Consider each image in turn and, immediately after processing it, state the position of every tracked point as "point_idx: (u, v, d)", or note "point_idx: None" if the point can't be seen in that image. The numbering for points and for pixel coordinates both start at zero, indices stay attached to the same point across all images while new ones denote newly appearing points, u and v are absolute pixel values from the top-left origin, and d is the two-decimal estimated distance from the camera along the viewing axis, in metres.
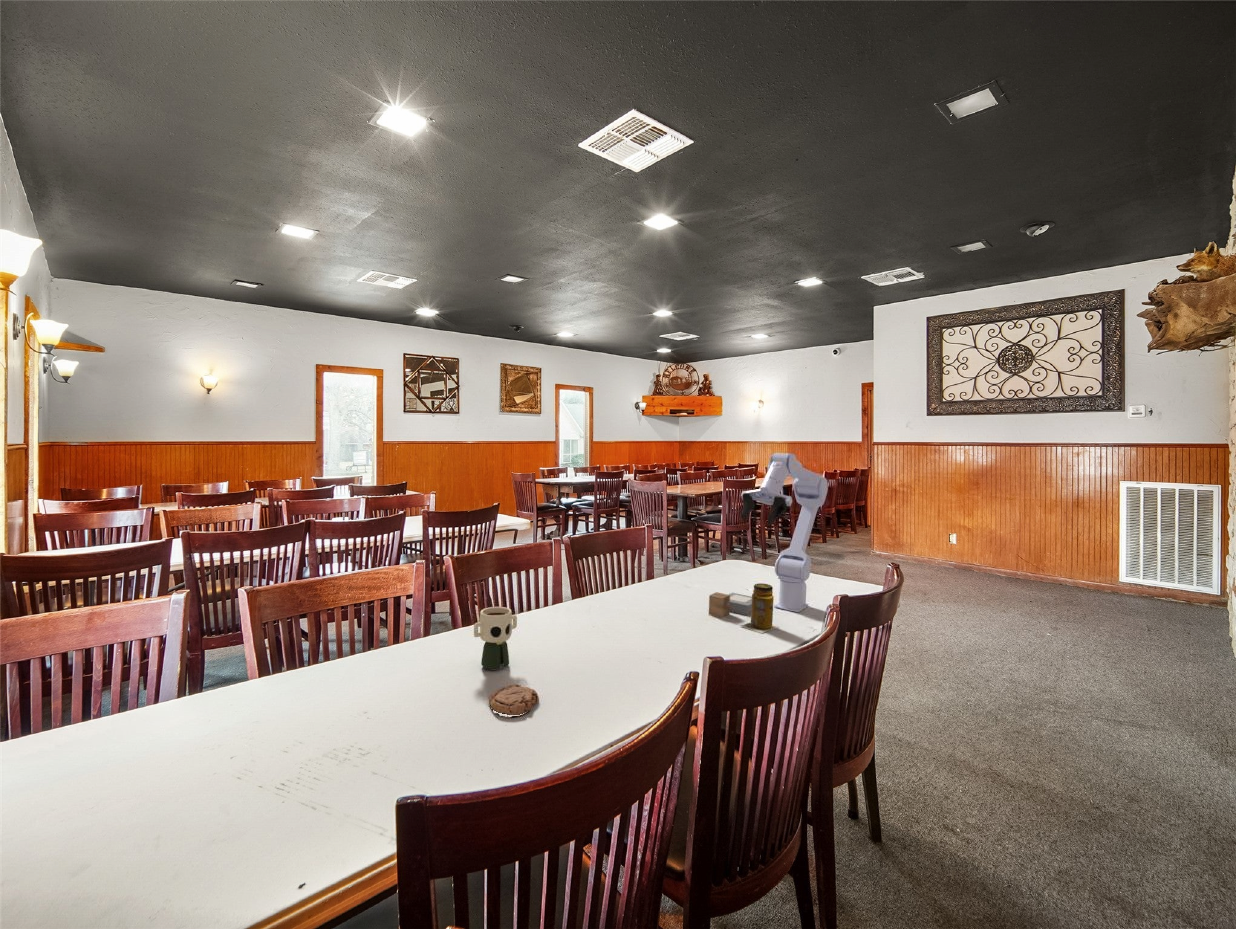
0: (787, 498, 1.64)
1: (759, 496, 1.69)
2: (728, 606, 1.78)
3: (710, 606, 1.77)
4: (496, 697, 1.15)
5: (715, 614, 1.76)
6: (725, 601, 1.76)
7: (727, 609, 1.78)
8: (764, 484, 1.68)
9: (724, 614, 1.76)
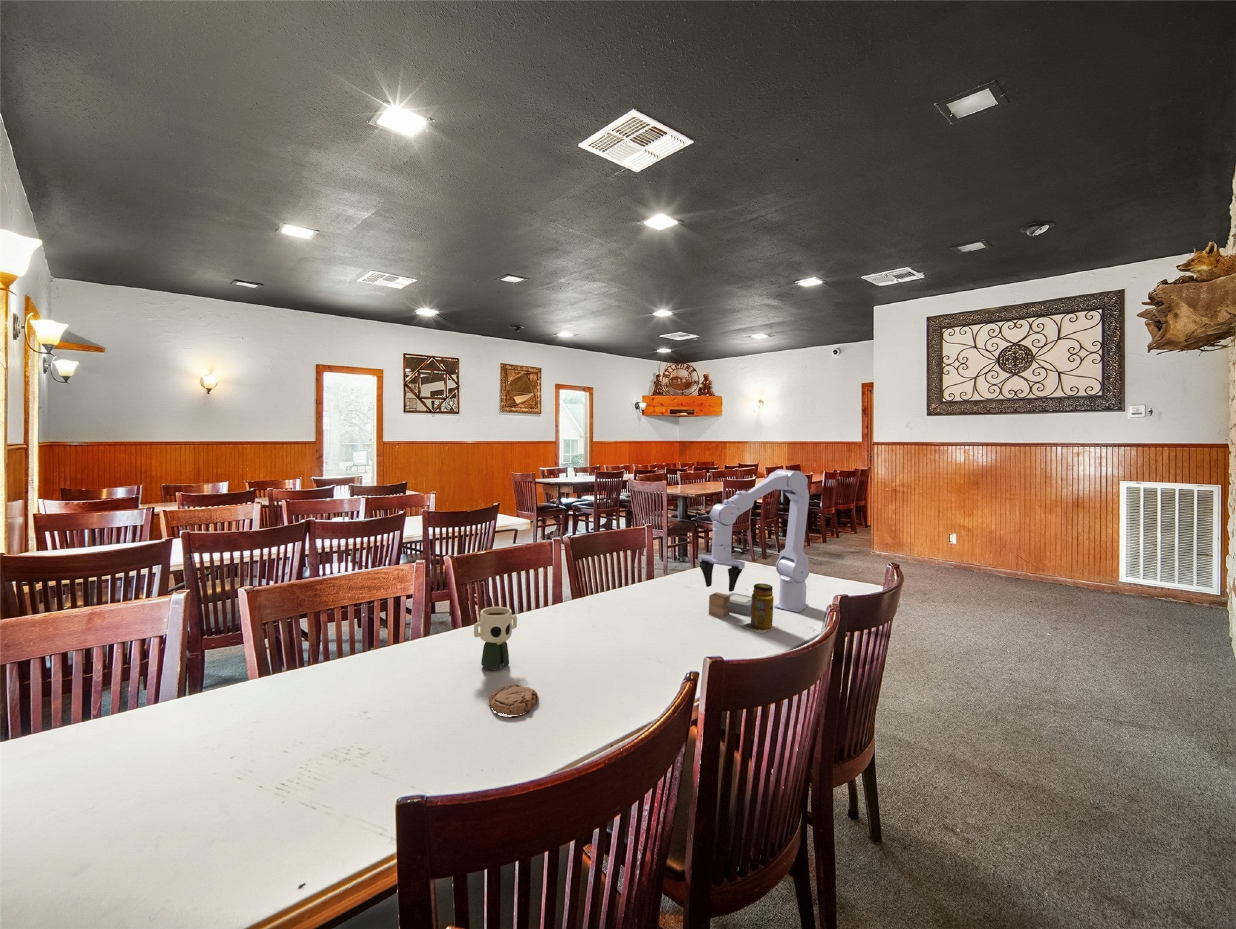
0: (739, 565, 1.73)
1: None
2: (728, 606, 1.78)
3: (710, 606, 1.77)
4: (496, 697, 1.15)
5: (715, 614, 1.76)
6: (725, 601, 1.76)
7: (727, 609, 1.78)
8: (714, 553, 1.76)
9: (724, 614, 1.76)
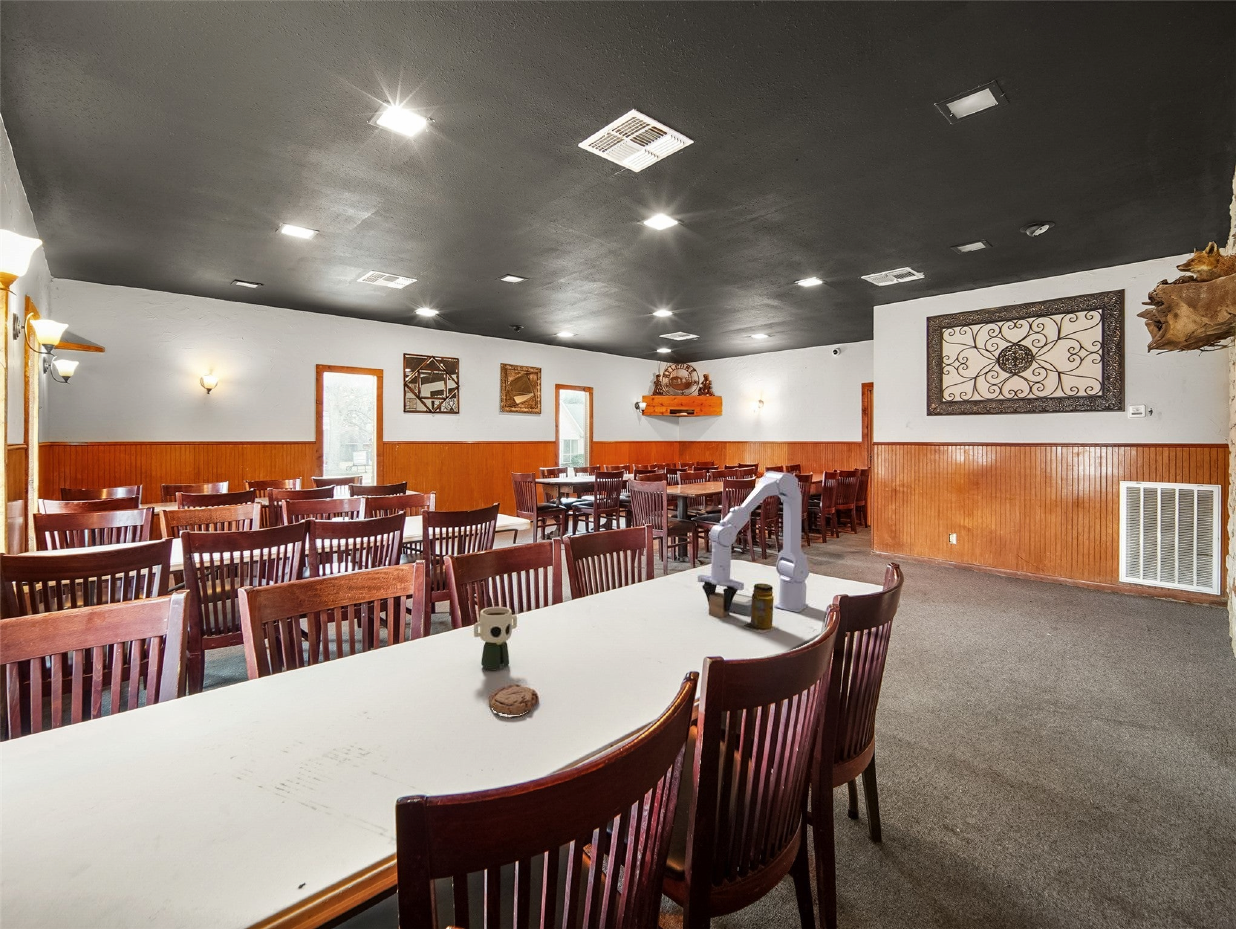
0: (738, 586, 1.73)
1: None
2: None
3: (710, 606, 1.77)
4: (496, 697, 1.15)
5: (715, 614, 1.76)
6: None
7: None
8: (713, 574, 1.76)
9: (724, 614, 1.76)
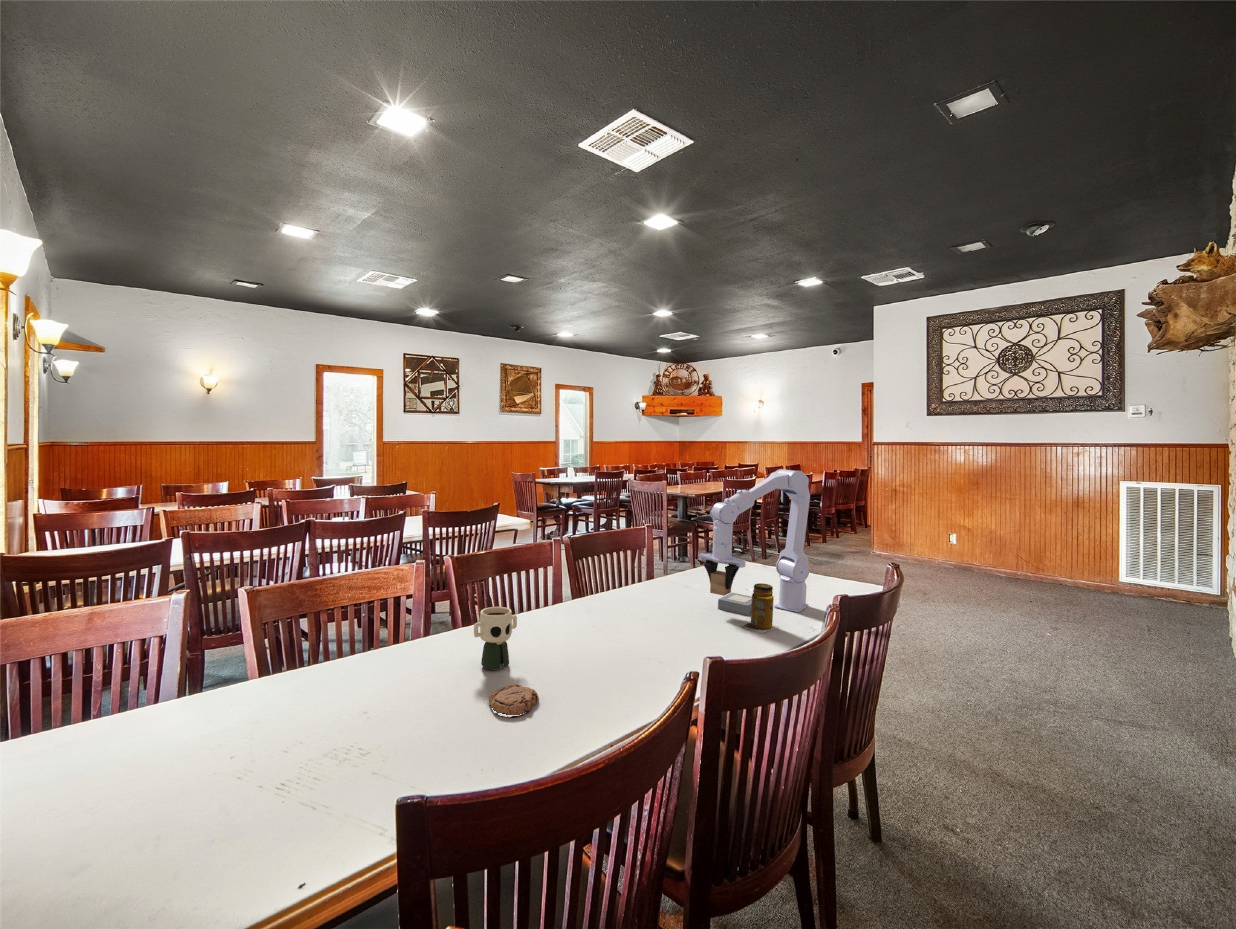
0: (740, 564, 1.73)
1: None
2: None
3: (712, 584, 1.77)
4: (496, 697, 1.15)
5: (717, 592, 1.76)
6: None
7: None
8: (715, 551, 1.76)
9: (726, 592, 1.76)
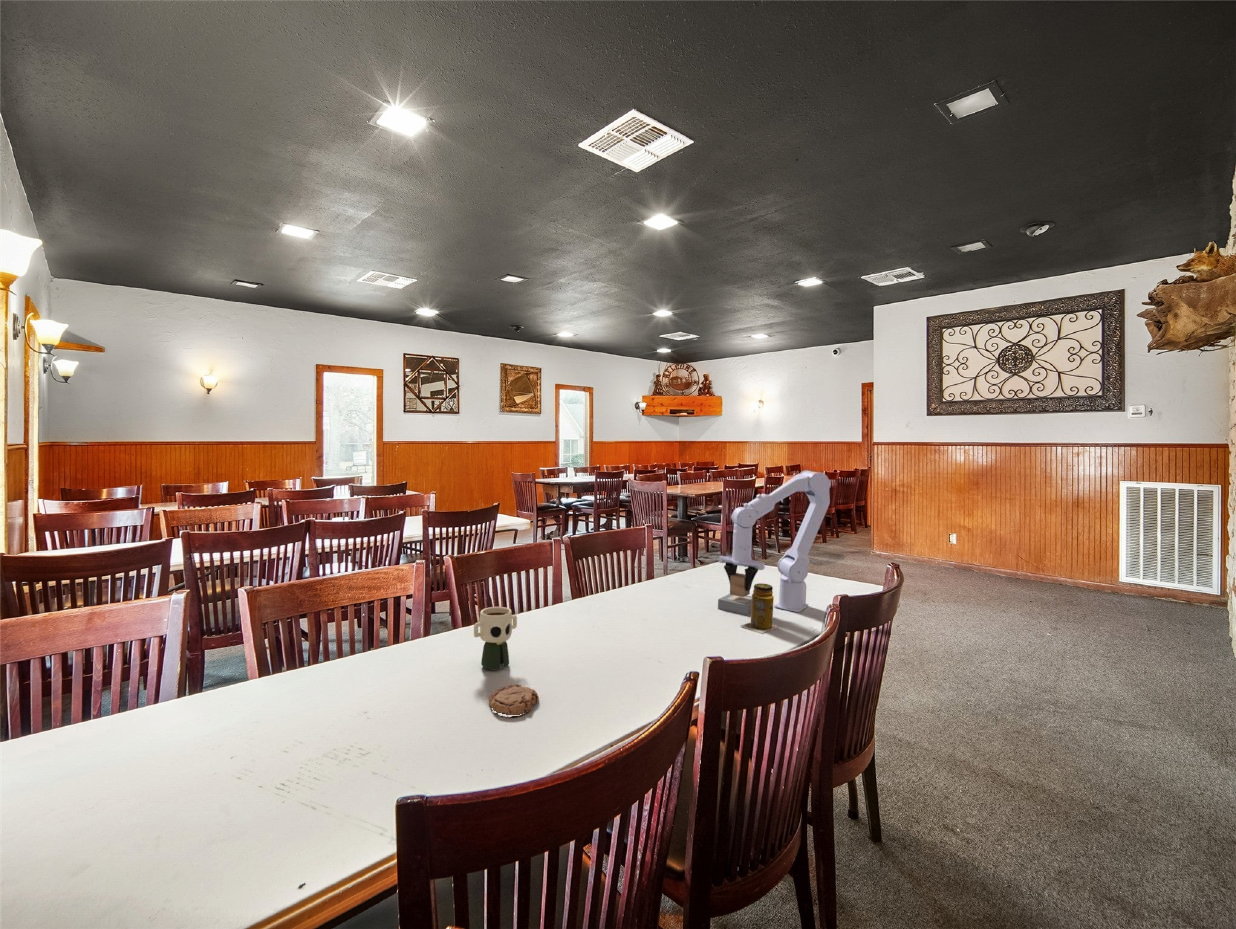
0: (759, 566, 1.80)
1: None
2: None
3: (731, 586, 1.84)
4: (496, 697, 1.15)
5: (736, 593, 1.83)
6: None
7: None
8: (735, 554, 1.82)
9: (745, 593, 1.82)
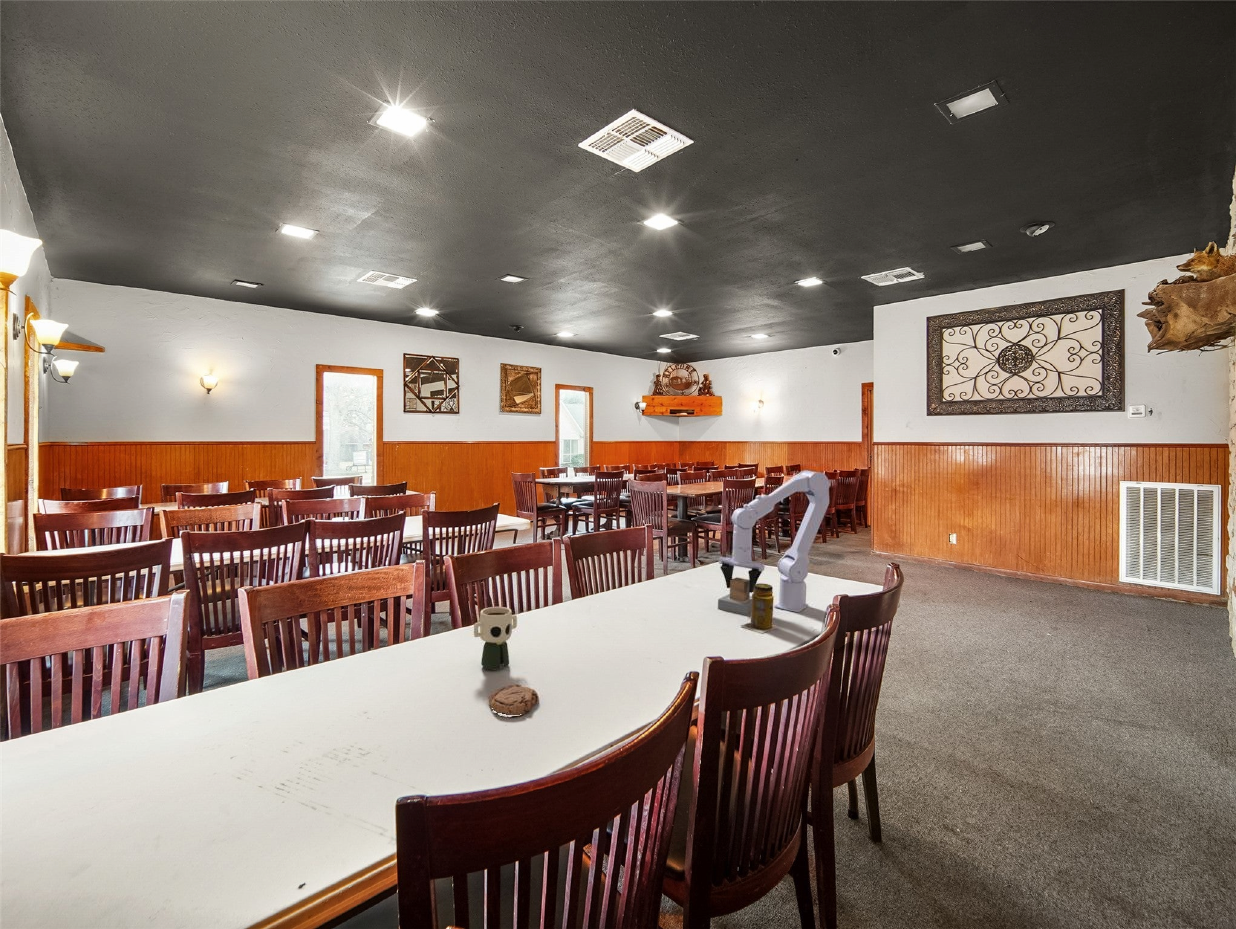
0: (759, 567, 1.80)
1: None
2: (748, 590, 1.84)
3: (731, 590, 1.84)
4: (496, 697, 1.15)
5: (736, 598, 1.83)
6: (746, 585, 1.83)
7: (748, 593, 1.84)
8: (735, 555, 1.82)
9: (745, 598, 1.83)
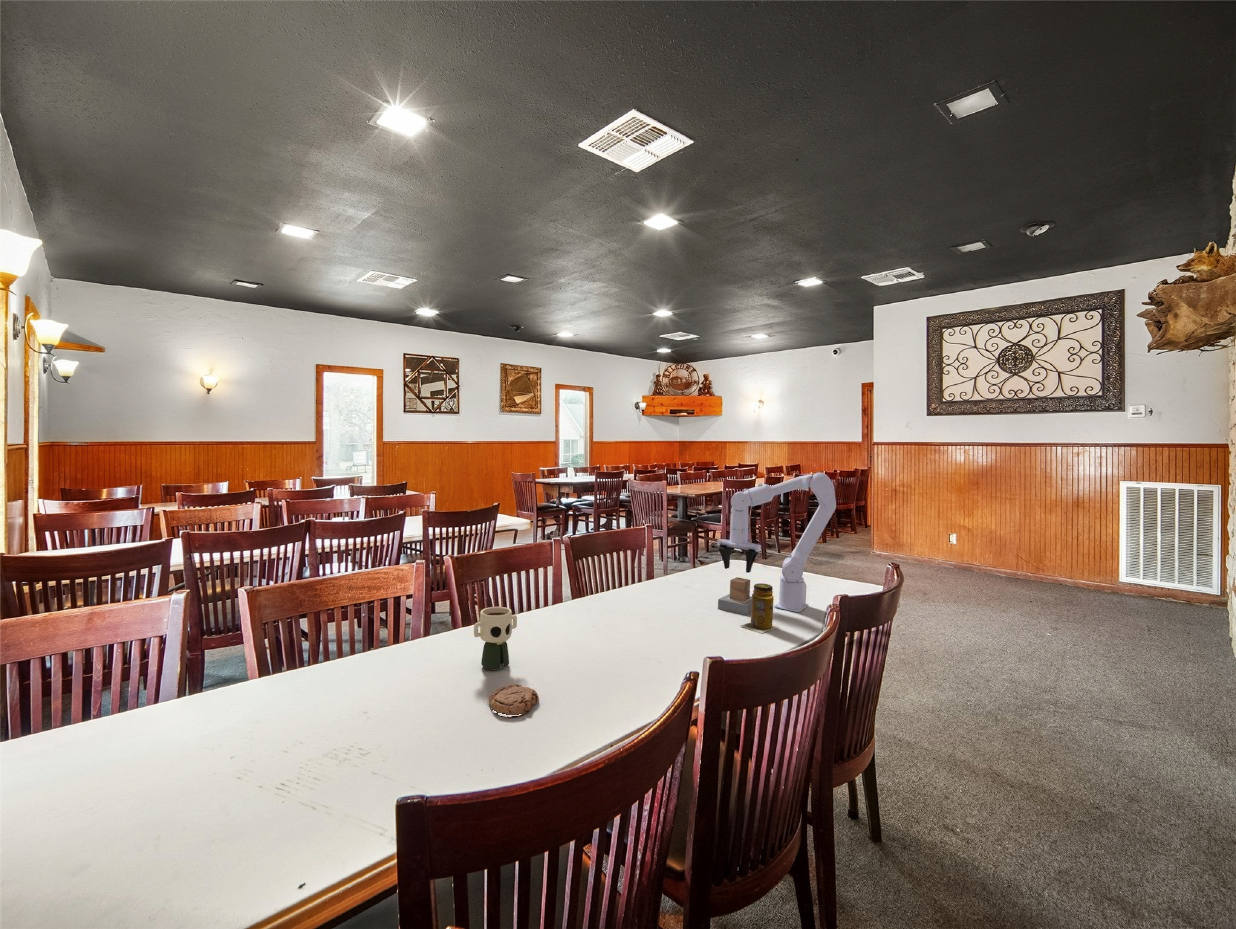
0: (756, 548, 1.86)
1: None
2: (748, 590, 1.84)
3: (731, 590, 1.84)
4: (496, 697, 1.15)
5: (736, 598, 1.83)
6: (746, 585, 1.83)
7: (748, 593, 1.84)
8: (732, 537, 1.89)
9: (745, 598, 1.83)
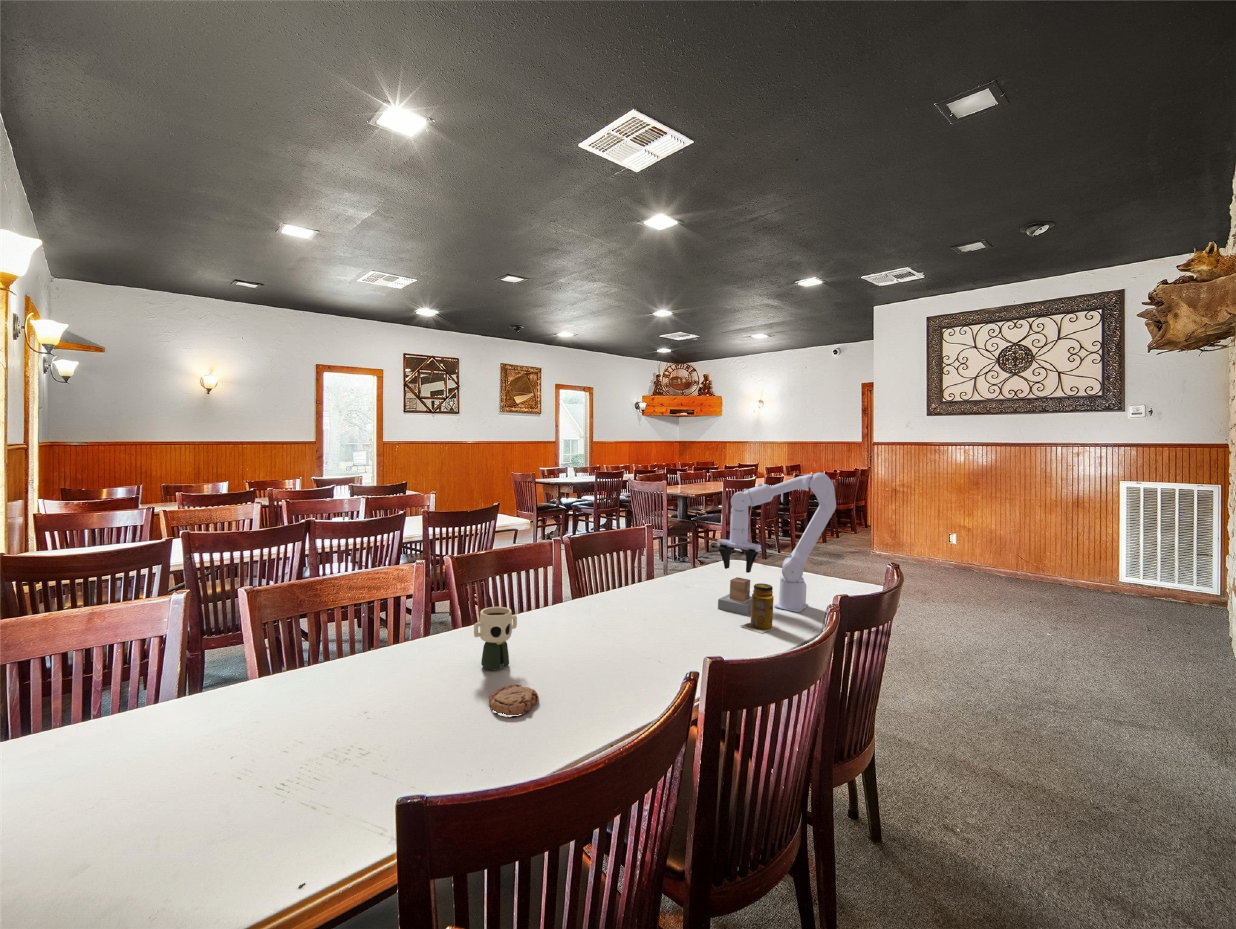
0: (756, 548, 1.86)
1: None
2: (748, 590, 1.84)
3: (731, 590, 1.84)
4: (496, 697, 1.15)
5: (736, 598, 1.83)
6: (746, 585, 1.83)
7: (748, 593, 1.84)
8: (732, 537, 1.89)
9: (745, 598, 1.83)
